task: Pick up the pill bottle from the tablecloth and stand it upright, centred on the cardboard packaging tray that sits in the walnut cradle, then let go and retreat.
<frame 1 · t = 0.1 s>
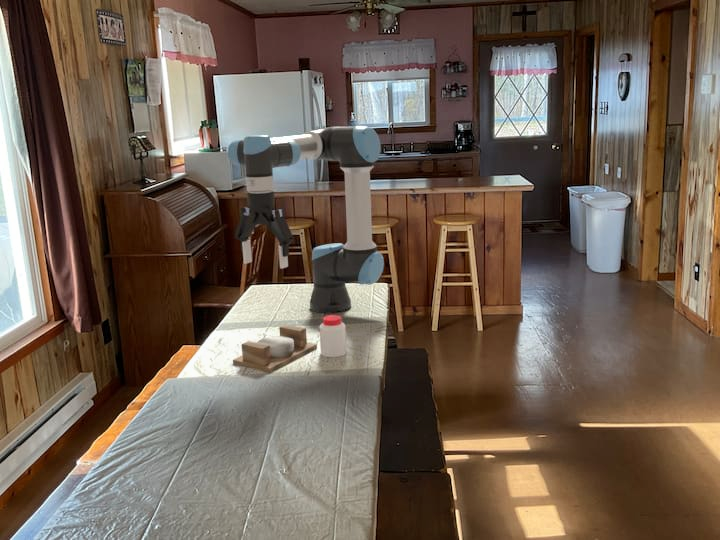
hand: (265, 265, 195), 28 cm above the table, fingers open, 13 cm apart
cardboard packaging tray: (276, 355, 203), on the table
pill bottle: (333, 353, 203), on the table
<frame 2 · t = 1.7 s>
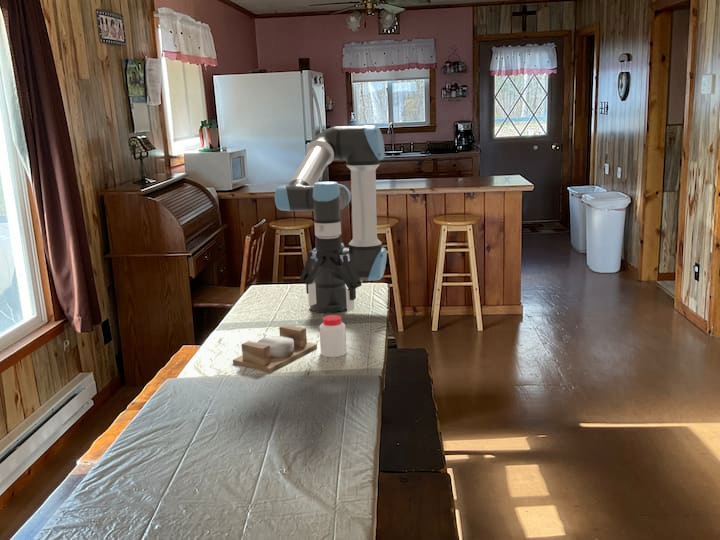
hand: (331, 307, 200), 14 cm above the table, fingers open, 13 cm apart
nothing on the table moved.
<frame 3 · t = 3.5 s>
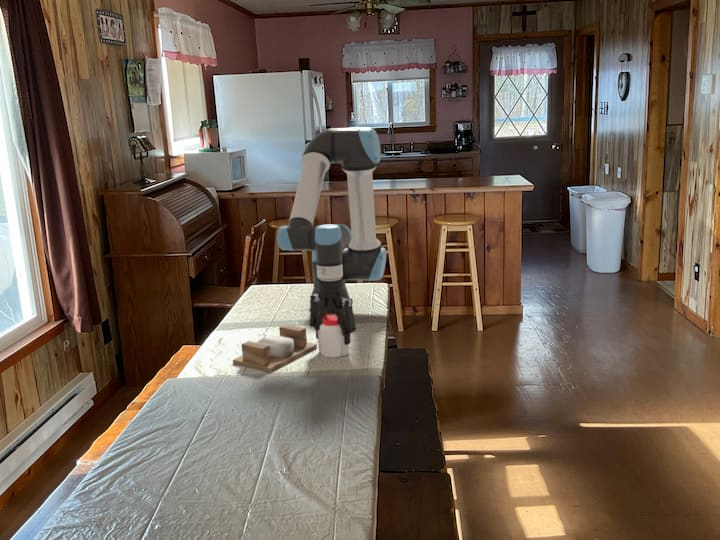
hand: (333, 351, 203), 0 cm above the table, fingers closed on pill bottle, 8 cm apart
pill bottle: (333, 353, 203), on the table, touching gripper
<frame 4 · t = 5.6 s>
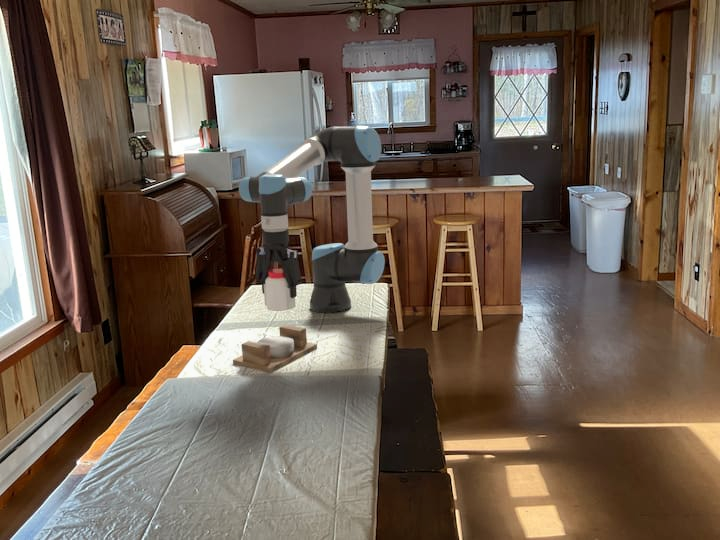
hand: (280, 306, 199), 15 cm above the table, fingers closed on pill bottle, 8 cm apart
pill bottle: (280, 307, 199), point 15 cm above the table, touching gripper
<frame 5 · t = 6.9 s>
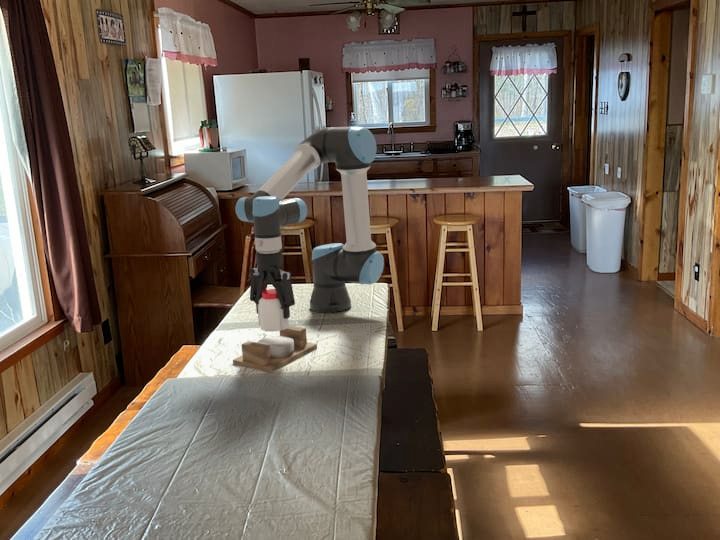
hand: (273, 326, 200), 9 cm above the table, fingers closed on pill bottle, 8 cm apart
pill bottle: (273, 328, 201), point 9 cm above the table, touching gripper
when the fingers open (6 cm above the table, at t = 8.0 s): pill bottle drops 1 cm, resting on cardboard packaging tray.
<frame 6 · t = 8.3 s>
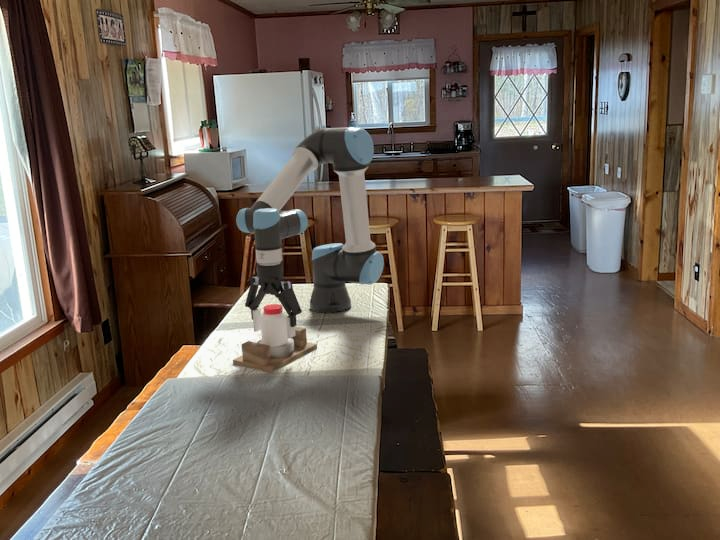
hand: (274, 333, 201), 7 cm above the table, fingers open, 12 cm apart
pill bottle: (275, 342, 202), point 4 cm above the table, touching cardboard packaging tray
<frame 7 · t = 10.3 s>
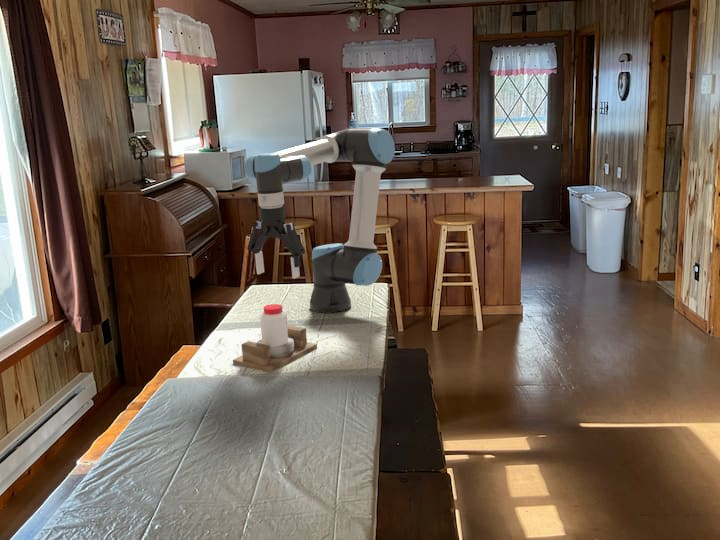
hand: (278, 275, 207), 22 cm above the table, fingers open, 13 cm apart
nothing on the table moved.
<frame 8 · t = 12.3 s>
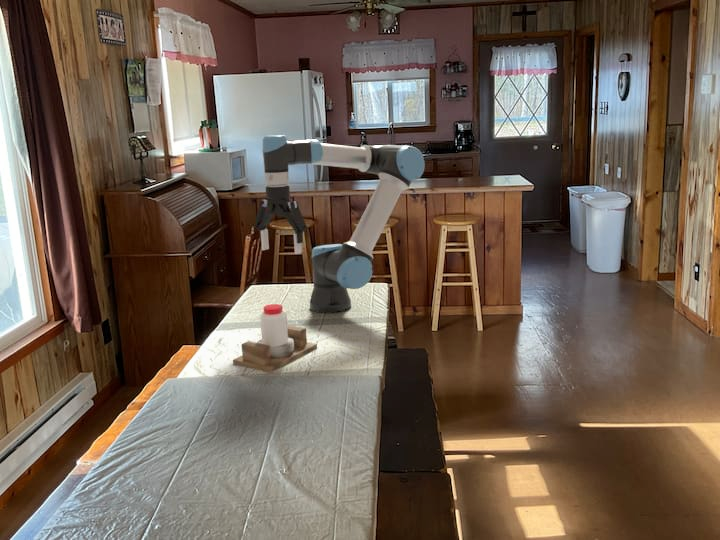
hand: (281, 251, 219), 27 cm above the table, fingers open, 13 cm apart
nothing on the table moved.
at the end: pill bottle 0.0 cm off-centre on the cardboard packaging tray, point 4.0 cm above the cardboard packaging tray's base; pill bottle tilted 0°; the gripper is holding nothing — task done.
